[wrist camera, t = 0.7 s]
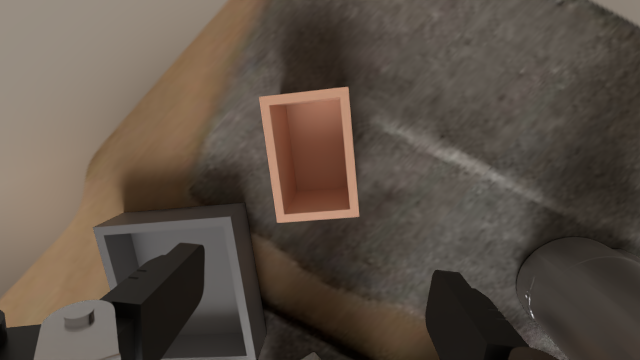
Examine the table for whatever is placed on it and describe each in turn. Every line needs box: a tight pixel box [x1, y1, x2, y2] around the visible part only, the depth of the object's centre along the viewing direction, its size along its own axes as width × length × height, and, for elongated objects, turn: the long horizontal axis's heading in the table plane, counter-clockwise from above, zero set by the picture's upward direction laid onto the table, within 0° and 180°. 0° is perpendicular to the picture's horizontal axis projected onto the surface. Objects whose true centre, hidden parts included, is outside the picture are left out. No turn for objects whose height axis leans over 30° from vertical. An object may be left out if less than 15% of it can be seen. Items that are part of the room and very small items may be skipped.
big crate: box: [93, 203, 267, 360], centre depth 31 cm, size 13×15×4 cm
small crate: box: [259, 87, 359, 223], centre depth 25 cm, size 6×9×7 cm, turn 6°
